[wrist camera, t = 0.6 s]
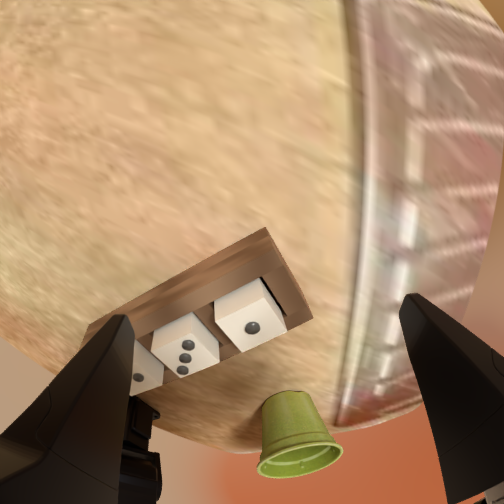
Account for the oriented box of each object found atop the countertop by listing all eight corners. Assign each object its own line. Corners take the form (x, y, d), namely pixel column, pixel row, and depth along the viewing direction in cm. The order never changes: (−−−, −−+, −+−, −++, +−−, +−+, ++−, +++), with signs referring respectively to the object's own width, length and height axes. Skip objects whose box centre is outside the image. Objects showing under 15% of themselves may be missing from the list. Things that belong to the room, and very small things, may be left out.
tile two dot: (134, 375, 25) (130, 398, 23) (107, 351, 23) (100, 374, 21) (164, 363, 24) (162, 386, 22) (136, 337, 23) (131, 361, 20)
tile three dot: (181, 356, 24) (180, 380, 22) (154, 329, 22) (150, 353, 20) (218, 339, 24) (219, 364, 21) (192, 310, 22) (191, 334, 20)
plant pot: (232, 401, 33) (240, 466, 25) (307, 369, 31) (328, 436, 24) (269, 428, 37) (279, 483, 29) (332, 402, 36) (352, 457, 28)
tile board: (136, 368, 28) (132, 395, 25) (89, 324, 25) (78, 351, 22) (302, 291, 26) (313, 317, 23) (265, 226, 23) (274, 249, 20)
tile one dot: (239, 330, 23) (242, 354, 21) (214, 299, 22) (215, 323, 19) (280, 310, 23) (288, 333, 21) (258, 276, 21) (264, 299, 19)
